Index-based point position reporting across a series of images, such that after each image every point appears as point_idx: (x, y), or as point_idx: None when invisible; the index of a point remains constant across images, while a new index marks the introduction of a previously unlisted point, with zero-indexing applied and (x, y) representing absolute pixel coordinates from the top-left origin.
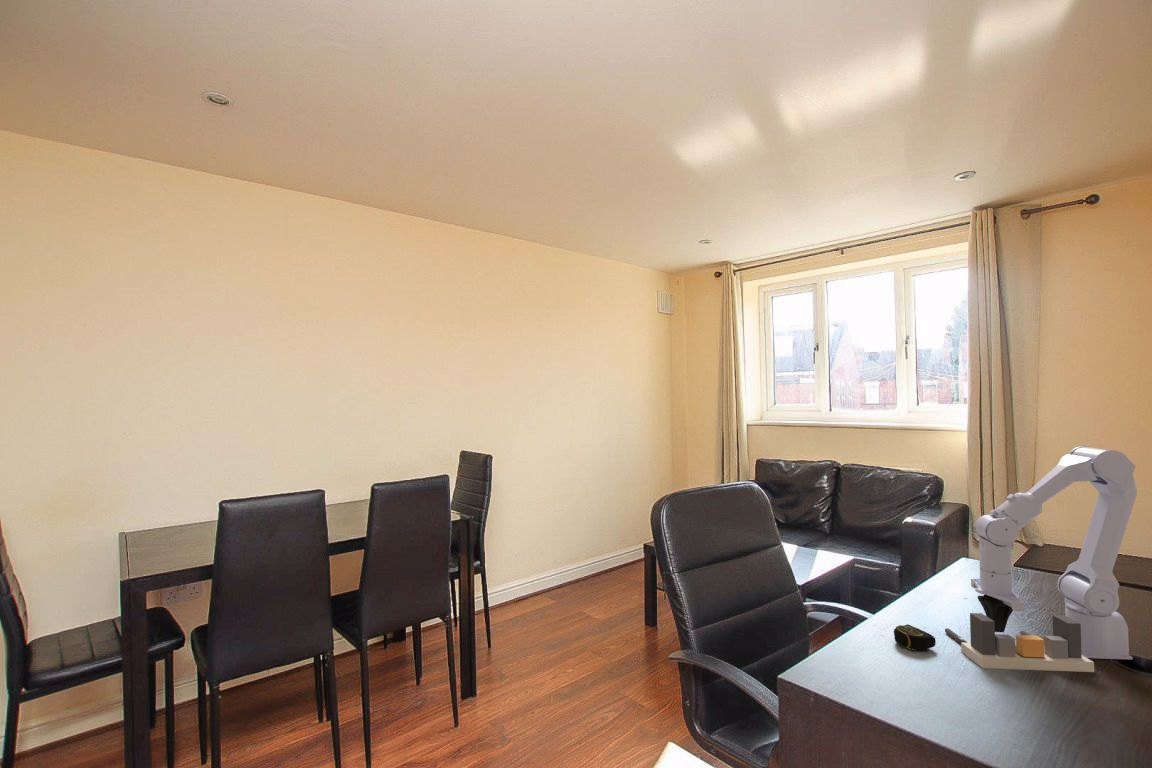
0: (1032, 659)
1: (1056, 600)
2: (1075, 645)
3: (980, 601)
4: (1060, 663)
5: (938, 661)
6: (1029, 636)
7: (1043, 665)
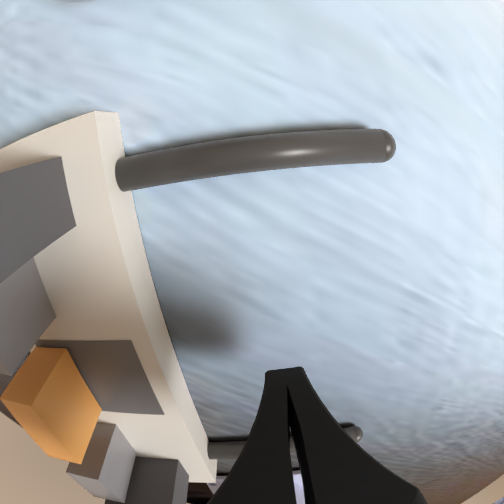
0: None
1: (478, 468)
2: None
3: (383, 487)
4: None
5: (23, 4)
6: (51, 440)
7: None
